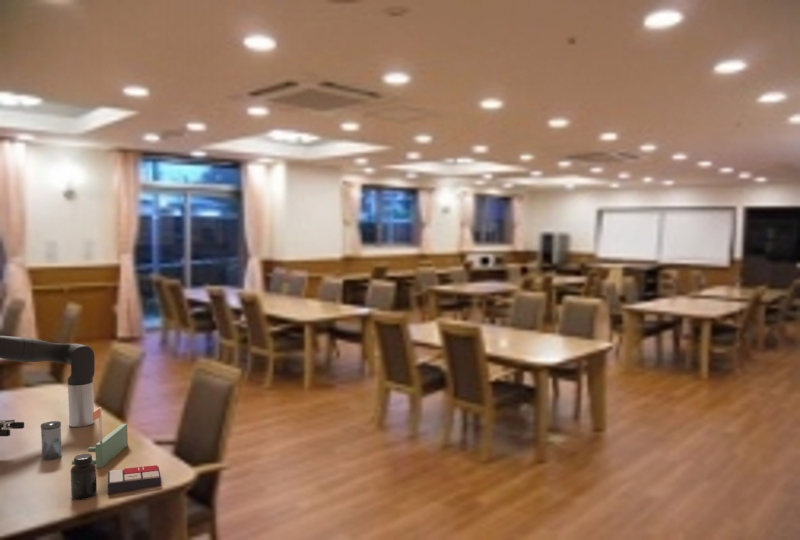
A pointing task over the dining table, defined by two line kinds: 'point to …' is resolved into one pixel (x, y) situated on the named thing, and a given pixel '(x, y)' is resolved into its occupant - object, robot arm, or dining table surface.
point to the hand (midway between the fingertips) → (16, 428)
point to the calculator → (133, 479)
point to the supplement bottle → (83, 477)
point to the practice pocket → (108, 442)
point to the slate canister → (51, 440)
